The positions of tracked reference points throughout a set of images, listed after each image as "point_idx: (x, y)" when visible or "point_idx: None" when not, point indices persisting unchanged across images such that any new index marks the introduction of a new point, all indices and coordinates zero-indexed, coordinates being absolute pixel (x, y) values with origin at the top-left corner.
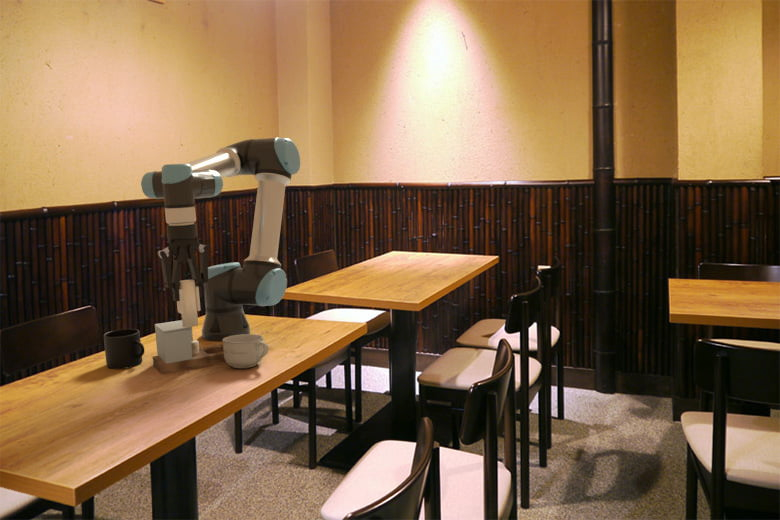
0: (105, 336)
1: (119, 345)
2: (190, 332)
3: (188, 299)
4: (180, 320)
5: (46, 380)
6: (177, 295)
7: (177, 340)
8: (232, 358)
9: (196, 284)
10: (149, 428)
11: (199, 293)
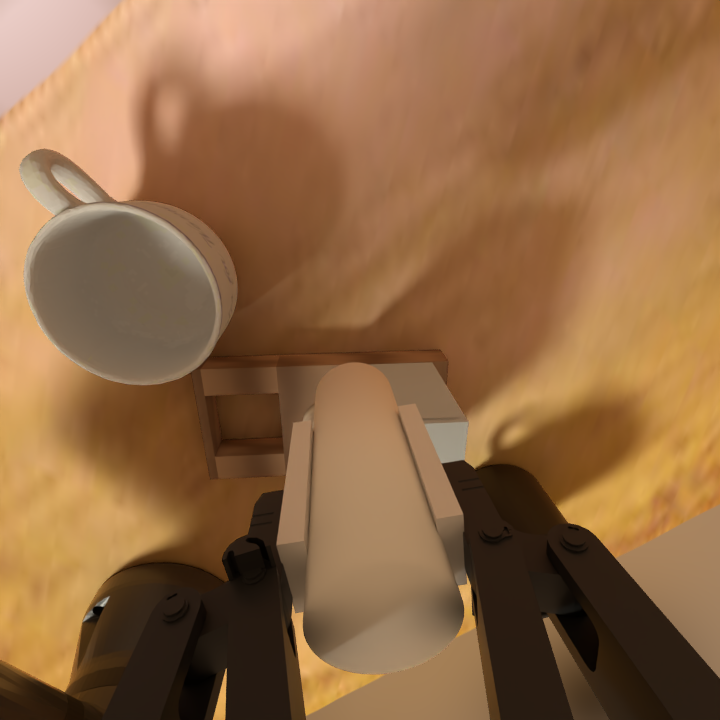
0: None
1: (549, 515)
2: None
3: (379, 449)
4: None
5: (690, 473)
6: (463, 490)
7: (400, 399)
8: (213, 234)
9: (284, 588)
10: None
11: (275, 514)
